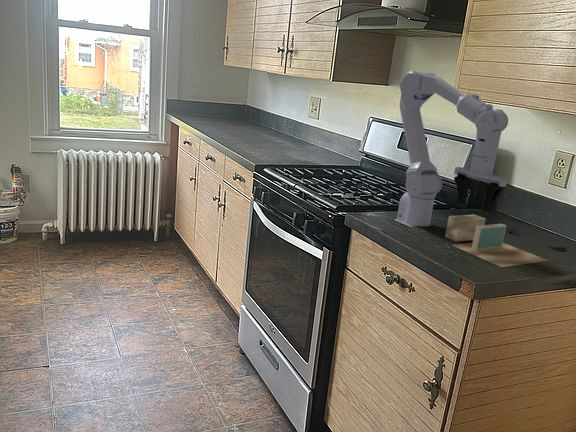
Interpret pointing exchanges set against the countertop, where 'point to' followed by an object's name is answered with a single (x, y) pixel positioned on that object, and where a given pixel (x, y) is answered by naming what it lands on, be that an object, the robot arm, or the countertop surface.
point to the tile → (488, 236)
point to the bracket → (557, 248)
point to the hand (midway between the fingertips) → (473, 206)
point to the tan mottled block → (463, 227)
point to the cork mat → (502, 255)
